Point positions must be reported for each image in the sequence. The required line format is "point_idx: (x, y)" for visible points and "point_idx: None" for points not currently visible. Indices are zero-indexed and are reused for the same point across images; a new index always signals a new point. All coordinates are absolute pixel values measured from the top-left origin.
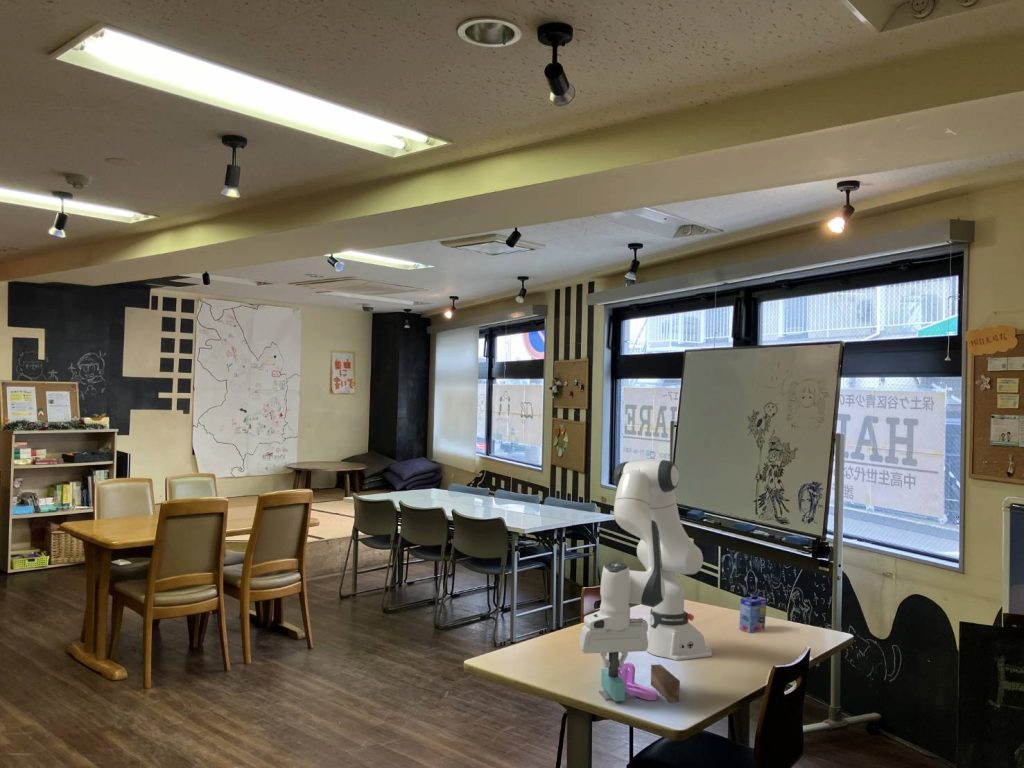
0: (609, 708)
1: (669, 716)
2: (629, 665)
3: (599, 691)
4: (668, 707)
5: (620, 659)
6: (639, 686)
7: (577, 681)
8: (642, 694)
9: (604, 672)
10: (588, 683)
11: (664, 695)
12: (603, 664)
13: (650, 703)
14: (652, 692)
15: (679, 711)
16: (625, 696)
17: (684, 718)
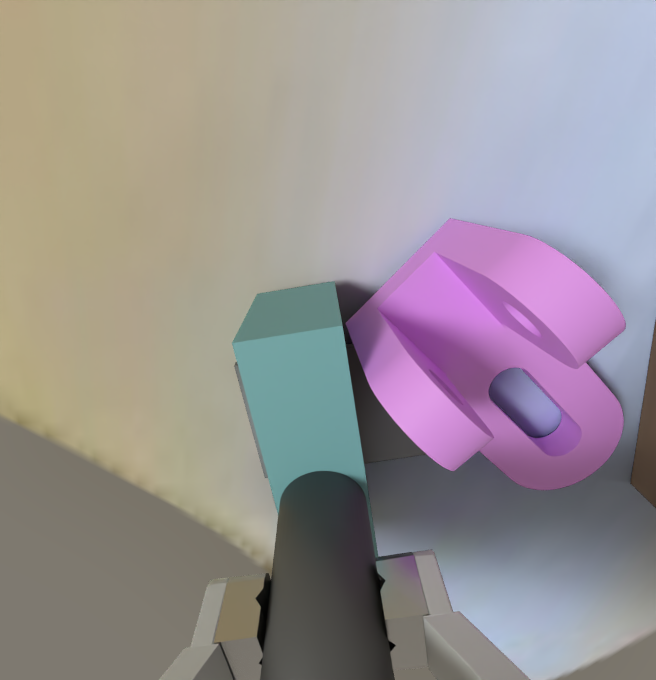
0: (273, 556)
1: (542, 611)
2: (565, 353)
3: (237, 372)
4: (589, 533)
5: (428, 640)
6: (539, 358)
7: (66, 133)
8: (504, 471)
9: (254, 421)
10: (164, 181)
11: (650, 429)
12: (207, 593)
13: (516, 495)
14: (584, 444)
15: (619, 568)
16: (397, 439)
17: (600, 623)
